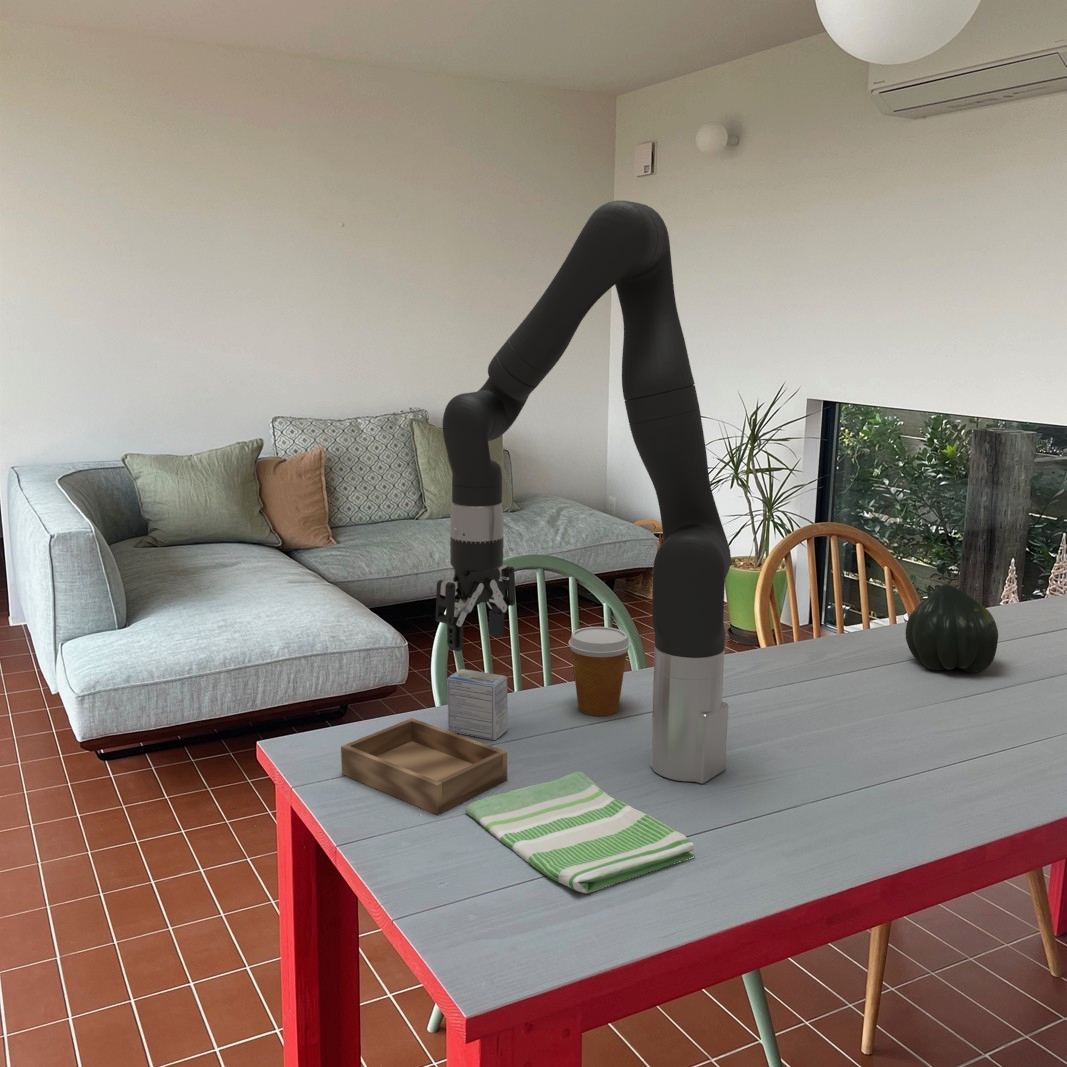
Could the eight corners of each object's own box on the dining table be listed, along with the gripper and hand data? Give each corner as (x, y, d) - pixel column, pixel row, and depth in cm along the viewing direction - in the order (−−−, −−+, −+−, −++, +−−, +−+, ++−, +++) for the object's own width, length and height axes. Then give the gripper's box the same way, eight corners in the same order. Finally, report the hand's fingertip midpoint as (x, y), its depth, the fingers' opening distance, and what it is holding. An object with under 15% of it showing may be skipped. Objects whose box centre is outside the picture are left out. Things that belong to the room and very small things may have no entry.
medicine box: (508, 731, 156) (508, 675, 154) (495, 742, 152) (494, 685, 150) (461, 722, 159) (461, 667, 157) (447, 732, 155) (446, 677, 153)
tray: (507, 780, 140) (507, 751, 139) (437, 815, 130) (437, 785, 129) (412, 744, 151) (411, 718, 150) (341, 774, 141) (340, 746, 140)
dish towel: (582, 783, 140) (583, 764, 139) (700, 860, 121) (701, 838, 120) (464, 817, 130) (464, 796, 130) (571, 906, 111) (572, 882, 111)
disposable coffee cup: (624, 722, 159) (626, 646, 157) (562, 717, 161) (563, 642, 159) (631, 699, 168) (633, 627, 166) (573, 695, 170) (574, 624, 168)
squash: (994, 659, 172) (1001, 578, 179) (898, 649, 178) (908, 572, 185) (994, 693, 183) (1000, 616, 190) (904, 683, 190) (913, 609, 196)
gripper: (461, 545, 141) (461, 660, 145) (529, 529, 152) (527, 637, 156) (422, 537, 146) (422, 649, 150) (490, 522, 157) (490, 626, 160)
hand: (476, 642), depth 153 cm, fingers open, 8 cm apart
